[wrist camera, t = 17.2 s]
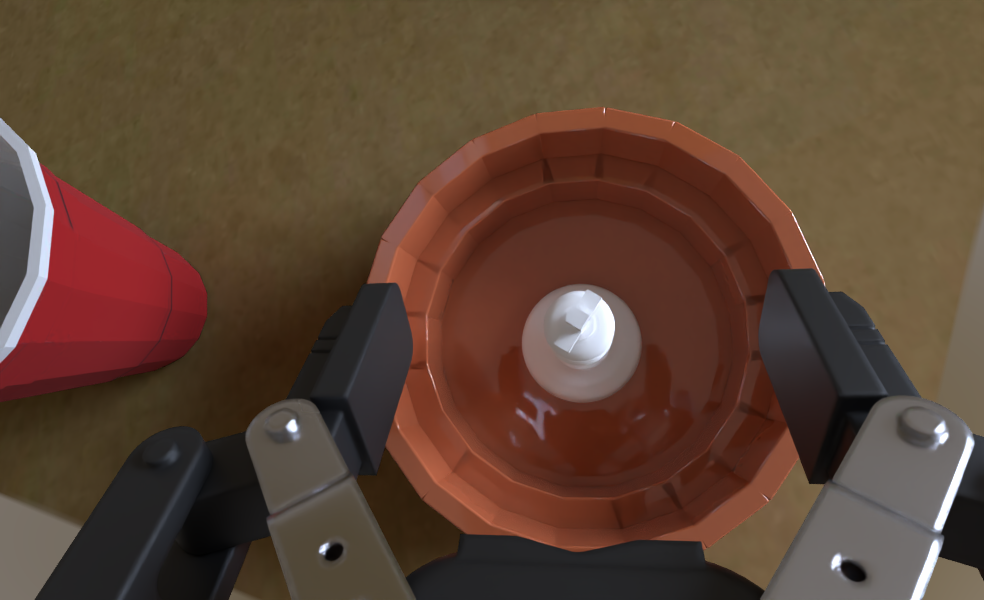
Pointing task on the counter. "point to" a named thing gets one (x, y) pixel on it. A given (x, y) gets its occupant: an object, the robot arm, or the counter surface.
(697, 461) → the bowl
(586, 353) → the chess piece
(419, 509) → the counter surface
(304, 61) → the counter surface
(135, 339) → the plastic cup
